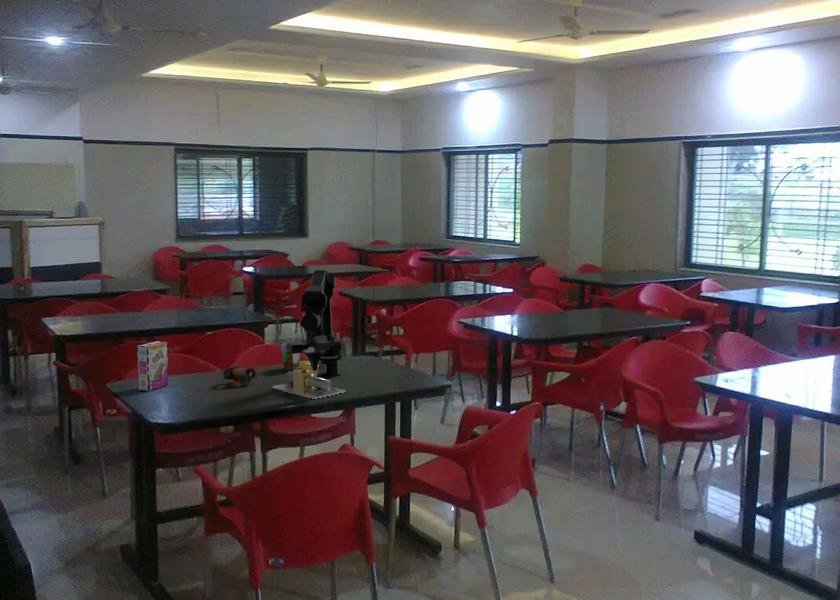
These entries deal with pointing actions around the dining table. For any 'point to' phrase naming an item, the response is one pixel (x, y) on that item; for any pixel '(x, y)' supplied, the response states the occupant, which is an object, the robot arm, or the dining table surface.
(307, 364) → the lever
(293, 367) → the food container
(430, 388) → the dining table surface
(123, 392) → the dining table surface
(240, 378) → the pottery mug
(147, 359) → the candy bar box
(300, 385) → the valve pipe
